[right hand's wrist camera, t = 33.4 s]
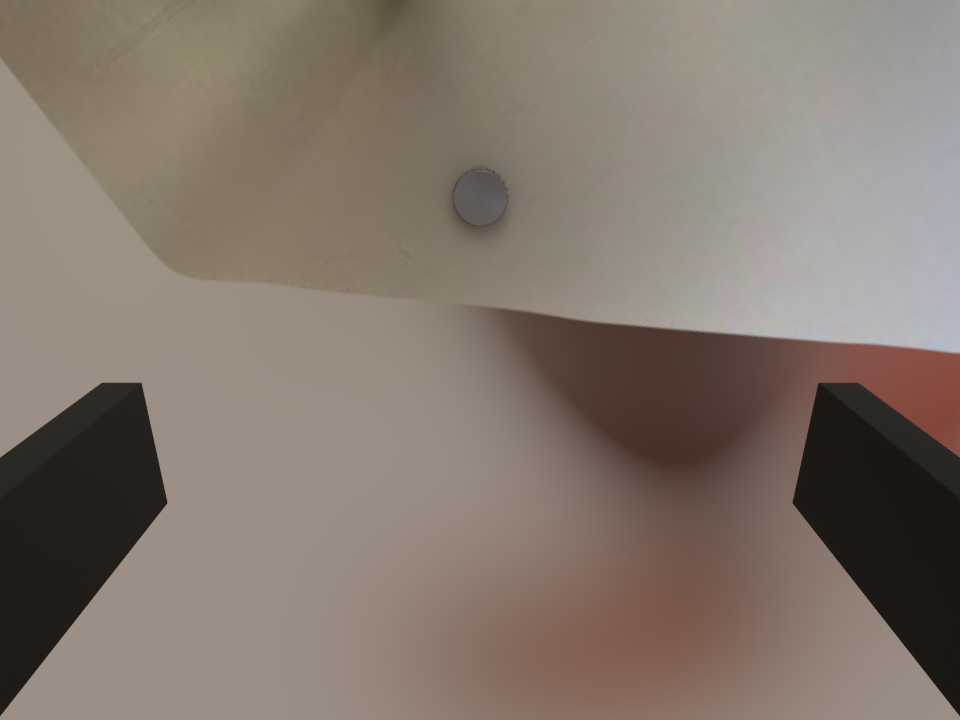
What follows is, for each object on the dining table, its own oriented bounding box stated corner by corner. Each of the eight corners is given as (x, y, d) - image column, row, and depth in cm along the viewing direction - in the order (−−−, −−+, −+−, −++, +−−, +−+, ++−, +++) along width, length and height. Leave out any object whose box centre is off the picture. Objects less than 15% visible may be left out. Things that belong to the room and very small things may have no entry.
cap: (464, 159, 46) (464, 161, 45) (515, 179, 47) (516, 182, 45) (446, 211, 48) (445, 214, 46) (495, 230, 48) (495, 234, 47)
